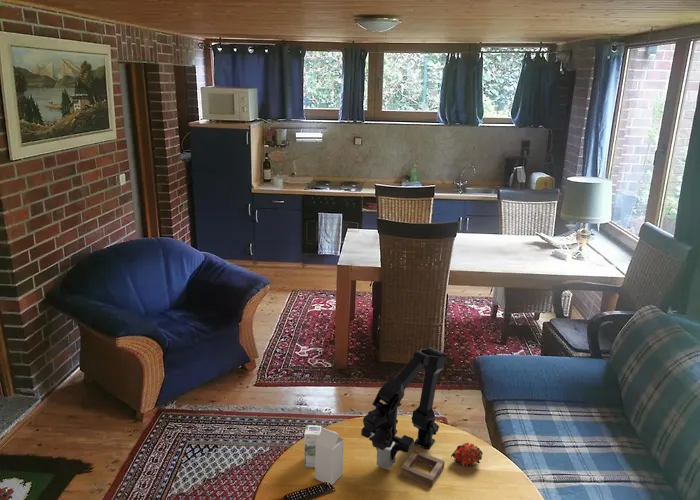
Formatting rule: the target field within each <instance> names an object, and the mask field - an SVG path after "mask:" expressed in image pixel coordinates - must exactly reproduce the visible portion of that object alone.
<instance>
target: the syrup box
mask: <svg viewBox="0 0 700 500" xmlns="http://www.w3.org/2000/svg"><path fill="white" fill-rule="evenodd" d="M321 428H322V426H321V425H314V424H313V425H308V424H306V425H305V431H304V445H303V446H304V448H303V449H304V450H303V451H304V454H303V460H304V462H303V468H314V469H315V451H316V440H317V438H318V436H319V434H320V432H321Z"/></svg>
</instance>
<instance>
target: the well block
mask: <svg viewBox="0 0 700 500" xmlns="http://www.w3.org/2000/svg"><path fill="white" fill-rule="evenodd" d="M417 462H418V463H421V464H422V465H425V466H428V467H431V468H432V469H431V471H430V472H429V474H428V473H426V472H423V471H420V470H418V469H416V468H413V467H414V466H415V464H416V463H417ZM445 462H446V461H445V460H443V459H440V458H439V457H438V458H437V457H436V456H433V455H429V454H428V453H424V452H422V451H419V450H416V449H414V450H413V451H412V452H411V453H410V455H409V456H408V457H407V459H406V460H405V462H404V463H403V464H402V466H400V475H401V476H403V477H406V478H408V479H410V480H412V481H414V482H418V483H420V484H422V485H425V486H428V487H430V488H432V487H433V486H434V485H435V482H436V481H437V480H438V478H439V477H440V475H441V473H442V472H443V470H444V469H445Z"/></svg>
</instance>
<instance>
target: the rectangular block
mask: <svg viewBox="0 0 700 500" xmlns="http://www.w3.org/2000/svg"><path fill="white" fill-rule="evenodd" d="M394 443H395V442H393V443H392V445H391V447H390V448H388V447H387V448H385V449H384V450H381V449H379V448H377V449H376V464H375V465H376V466H378V467H381V468H383V469H386V470H389V471H390V469H391V468H392V466H393V465H394V464H396V457H395V458H394V459H393V460H392V451H393V449H392V447H393V446H394Z"/></svg>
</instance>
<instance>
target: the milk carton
mask: <svg viewBox="0 0 700 500" xmlns="http://www.w3.org/2000/svg"><path fill="white" fill-rule="evenodd" d="M339 435H340V434H339V433H338V432H336V431H334V430H332V429H331V430H329V429H327V428H324V427H321V432H320V434H319V436H318V438H317V440H316V451H315V468H314V479H315V480H316V481H317V480H318V481H320V482H322V483H324V482H327V483H330V484H331V485H332V486H333V485H334V484H335V483H336V482H337V481H338V480H339V479H340V478H341V477H342V475H343V472H344V471H343V469H344V444H345V443H344V441H345V440H344V439H343V438H341V437H340V436H339Z"/></svg>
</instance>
